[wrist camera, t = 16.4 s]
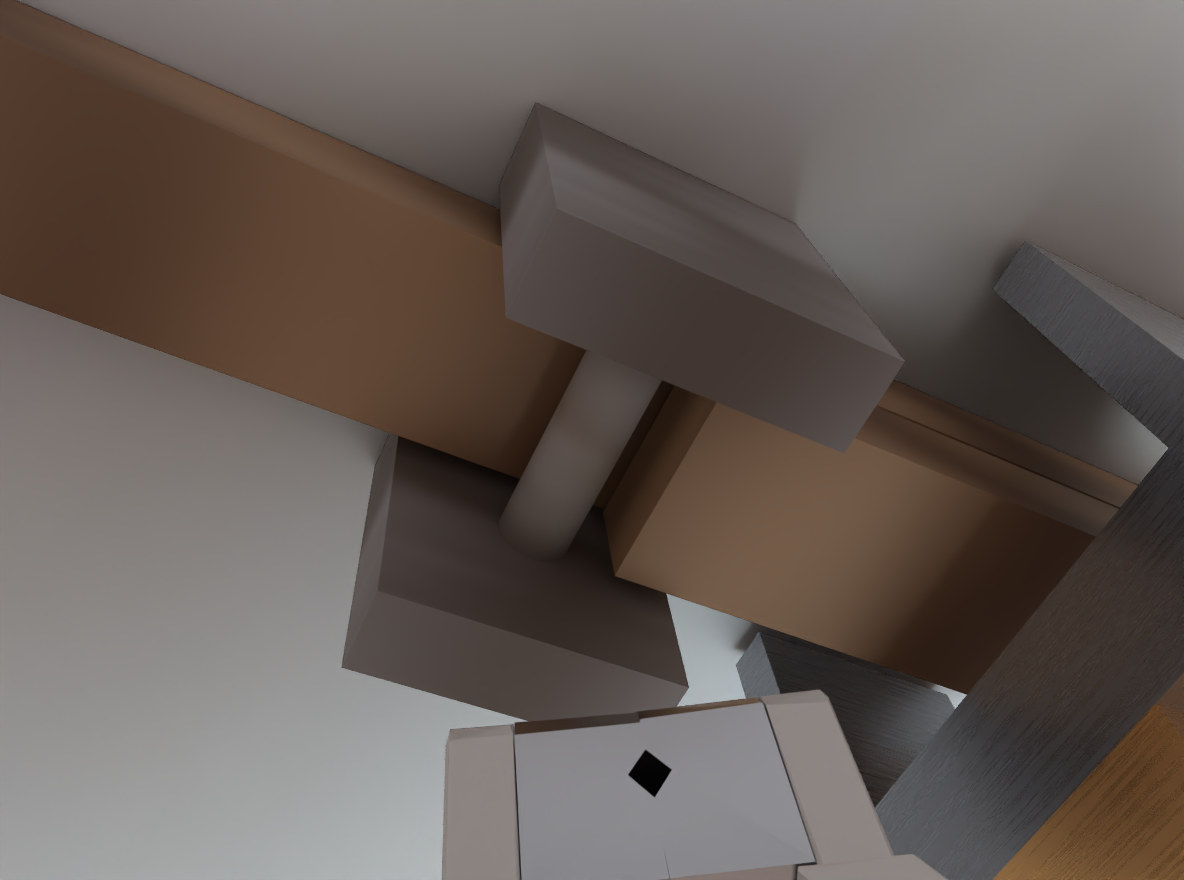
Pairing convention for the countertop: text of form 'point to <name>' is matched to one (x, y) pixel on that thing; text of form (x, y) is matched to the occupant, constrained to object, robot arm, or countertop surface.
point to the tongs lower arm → (449, 344)
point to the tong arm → (848, 535)
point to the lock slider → (1047, 656)
